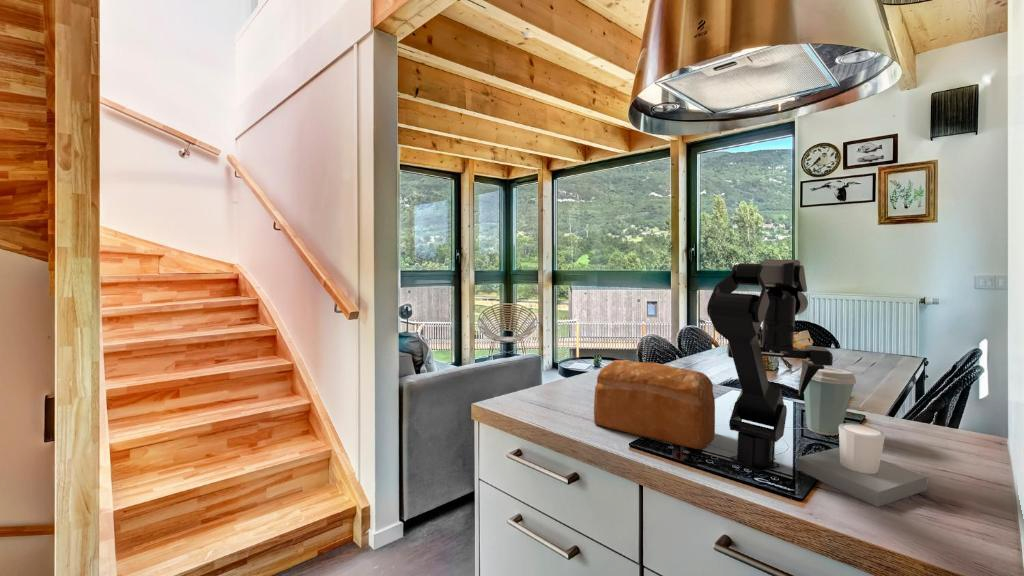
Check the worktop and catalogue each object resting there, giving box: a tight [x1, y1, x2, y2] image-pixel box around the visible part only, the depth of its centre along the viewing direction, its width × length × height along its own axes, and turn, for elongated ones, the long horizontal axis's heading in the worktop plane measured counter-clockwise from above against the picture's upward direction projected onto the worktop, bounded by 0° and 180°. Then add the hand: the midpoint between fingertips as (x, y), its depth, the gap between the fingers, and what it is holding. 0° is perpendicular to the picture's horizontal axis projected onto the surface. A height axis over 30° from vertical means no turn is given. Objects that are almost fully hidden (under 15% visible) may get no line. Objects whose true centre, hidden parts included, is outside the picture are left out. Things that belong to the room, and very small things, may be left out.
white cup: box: [838, 422, 886, 474], centre depth 85 cm, size 7×7×7 cm
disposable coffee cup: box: [803, 366, 857, 437], centre depth 109 cm, size 11×11×15 cm
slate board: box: [796, 446, 928, 508], centre depth 85 cm, size 14×14×2 cm
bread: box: [593, 359, 716, 450], centre depth 109 cm, size 14×26×16 cm, turn 54°
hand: (774, 392), depth 99 cm, fingers open, 9 cm apart
